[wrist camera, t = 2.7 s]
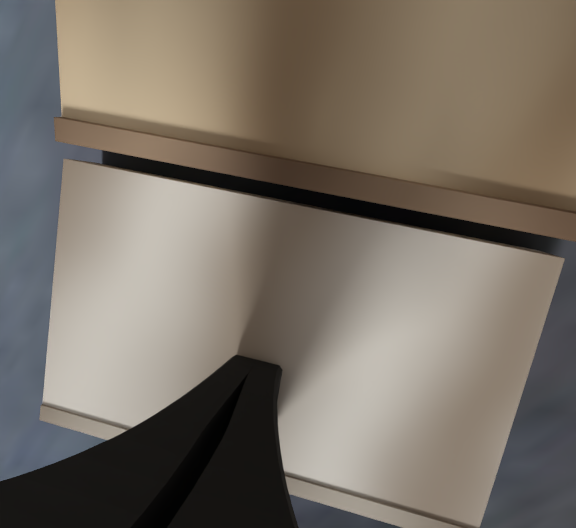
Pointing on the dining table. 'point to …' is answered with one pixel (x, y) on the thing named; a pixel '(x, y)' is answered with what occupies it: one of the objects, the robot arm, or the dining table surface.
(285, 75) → the floor board
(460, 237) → the tan flat block
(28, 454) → the dining table surface
